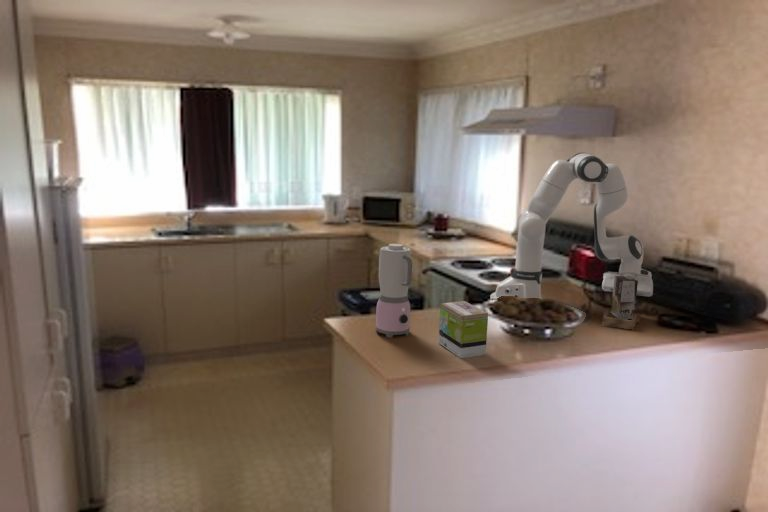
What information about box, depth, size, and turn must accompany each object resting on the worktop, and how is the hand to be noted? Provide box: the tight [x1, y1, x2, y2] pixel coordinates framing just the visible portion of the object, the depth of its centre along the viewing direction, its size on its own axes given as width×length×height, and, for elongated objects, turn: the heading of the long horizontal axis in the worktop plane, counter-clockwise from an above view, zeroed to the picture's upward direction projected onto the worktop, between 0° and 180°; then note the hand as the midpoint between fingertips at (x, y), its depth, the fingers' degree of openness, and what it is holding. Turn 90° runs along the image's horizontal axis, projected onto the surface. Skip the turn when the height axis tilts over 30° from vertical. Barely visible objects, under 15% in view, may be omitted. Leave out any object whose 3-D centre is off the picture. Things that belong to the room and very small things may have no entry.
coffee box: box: [610, 276, 638, 320], centre depth 241 cm, size 9×6×16 cm
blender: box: [375, 243, 413, 339], centre depth 209 cm, size 16×12×32 cm
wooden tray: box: [601, 308, 641, 331], centre depth 232 cm, size 14×13×4 cm
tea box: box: [438, 300, 489, 359], centre depth 197 cm, size 15×10×15 cm
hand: (624, 301), depth 250 cm, fingers closed
